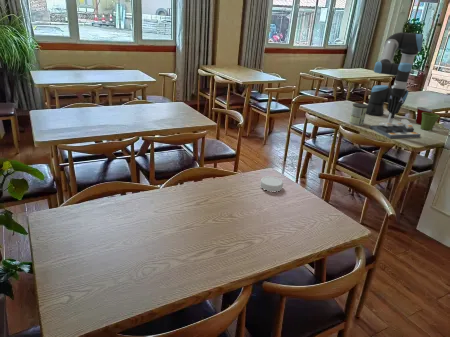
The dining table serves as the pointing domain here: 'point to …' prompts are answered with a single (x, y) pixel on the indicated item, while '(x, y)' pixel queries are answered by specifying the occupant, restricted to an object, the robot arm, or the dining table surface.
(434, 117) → the plant pot
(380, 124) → the switch
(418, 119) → the plastic cup
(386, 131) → the switch panel
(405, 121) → the switch
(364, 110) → the coffee can
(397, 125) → the switch middle
